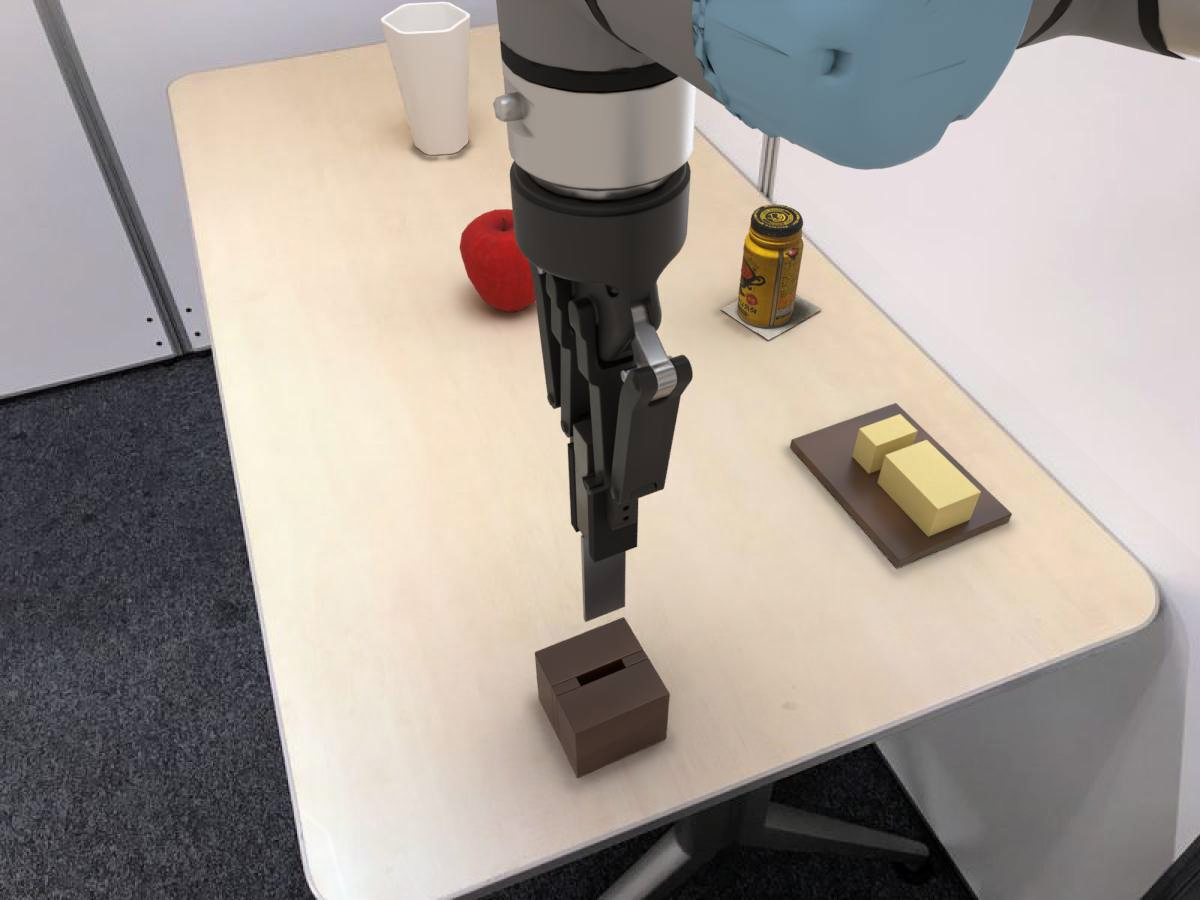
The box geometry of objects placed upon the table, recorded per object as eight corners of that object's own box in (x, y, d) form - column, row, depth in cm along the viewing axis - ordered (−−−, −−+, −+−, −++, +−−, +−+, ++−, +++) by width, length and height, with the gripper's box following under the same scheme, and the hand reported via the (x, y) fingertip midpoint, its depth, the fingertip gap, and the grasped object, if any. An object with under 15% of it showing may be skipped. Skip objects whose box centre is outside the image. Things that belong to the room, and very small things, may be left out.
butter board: (1009, 521, 84) (1012, 513, 83) (896, 568, 80) (899, 560, 79) (893, 410, 94) (896, 402, 93) (789, 447, 90) (791, 439, 90)
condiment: (719, 310, 106) (729, 213, 97) (773, 281, 110) (787, 186, 101) (768, 341, 102) (782, 243, 93) (822, 311, 106) (840, 214, 97)
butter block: (970, 519, 82) (981, 491, 80) (928, 537, 81) (938, 509, 79) (917, 467, 87) (926, 439, 85) (876, 482, 86) (884, 454, 83)
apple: (572, 295, 108) (569, 209, 100) (517, 338, 102) (510, 250, 95) (504, 267, 112) (497, 181, 105) (448, 306, 107) (436, 219, 99)
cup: (430, 120, 139) (413, -4, 127) (493, 132, 136) (481, 7, 124) (388, 154, 132) (366, 26, 120) (453, 168, 129) (437, 38, 117)
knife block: (666, 738, 69) (670, 693, 65) (577, 778, 67) (575, 734, 63) (623, 663, 74) (624, 616, 69) (538, 697, 71) (534, 651, 67)
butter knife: (630, 615, 61) (634, 429, 50) (590, 631, 60) (585, 445, 49) (618, 594, 62) (619, 408, 51) (578, 610, 61) (570, 424, 50)
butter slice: (909, 458, 88) (917, 430, 85) (868, 474, 86) (876, 446, 84) (892, 441, 89) (900, 413, 87) (852, 456, 88) (859, 428, 86)
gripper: (453, 104, 43) (497, 473, 60) (594, 270, 34) (600, 656, 50) (604, 73, 46) (606, 437, 62) (776, 221, 36) (725, 606, 52)
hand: (603, 534), depth 56 cm, fingers closed on butter knife, 2 cm apart
